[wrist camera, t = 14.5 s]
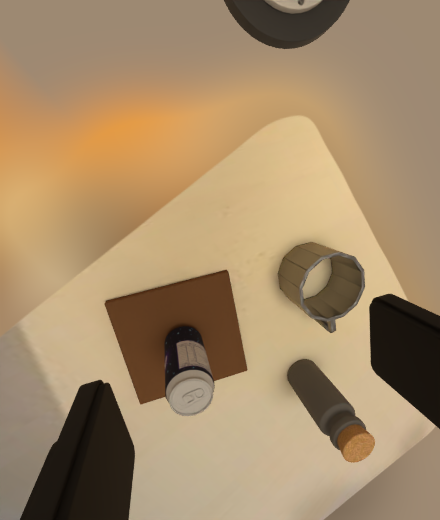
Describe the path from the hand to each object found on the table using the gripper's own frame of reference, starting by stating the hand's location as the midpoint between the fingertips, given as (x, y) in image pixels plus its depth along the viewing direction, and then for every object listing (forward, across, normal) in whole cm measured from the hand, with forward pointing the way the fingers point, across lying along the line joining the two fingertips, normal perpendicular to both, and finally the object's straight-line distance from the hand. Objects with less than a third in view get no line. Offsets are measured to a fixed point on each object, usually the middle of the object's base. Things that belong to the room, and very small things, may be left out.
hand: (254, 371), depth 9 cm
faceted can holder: (+30, -18, +12) cm, 37 cm away
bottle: (+30, -15, +30) cm, 45 cm away
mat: (+30, +4, +16) cm, 34 cm away
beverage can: (+29, +4, +16) cm, 34 cm away
